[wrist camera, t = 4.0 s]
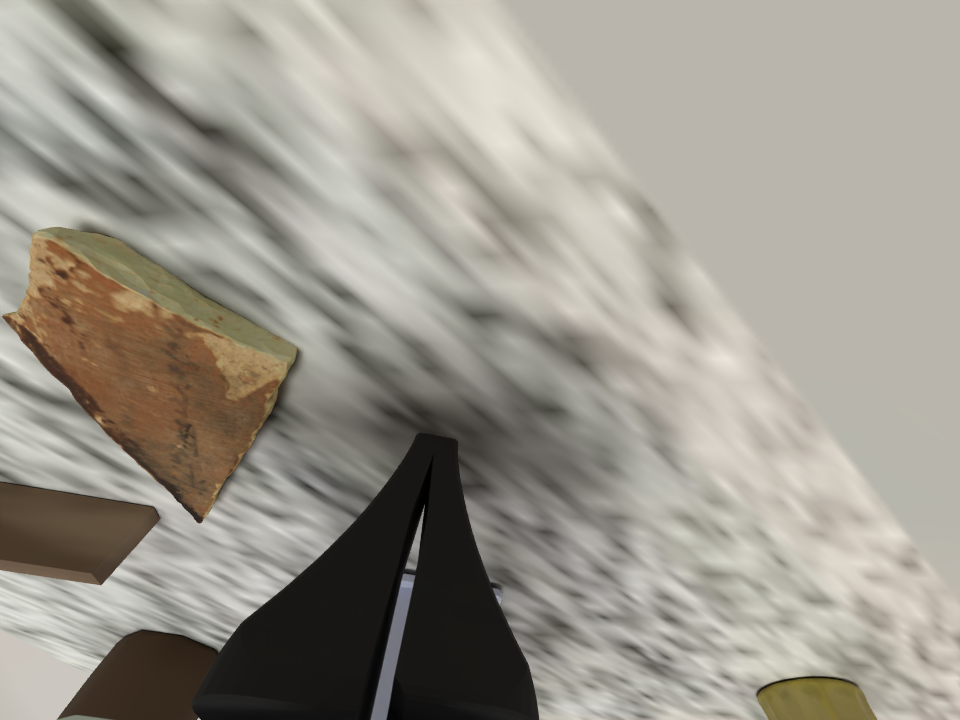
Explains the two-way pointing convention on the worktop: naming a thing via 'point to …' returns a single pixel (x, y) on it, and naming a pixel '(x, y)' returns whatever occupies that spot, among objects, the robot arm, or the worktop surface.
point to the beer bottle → (144, 680)
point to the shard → (150, 359)
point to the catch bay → (68, 533)
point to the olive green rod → (815, 700)
